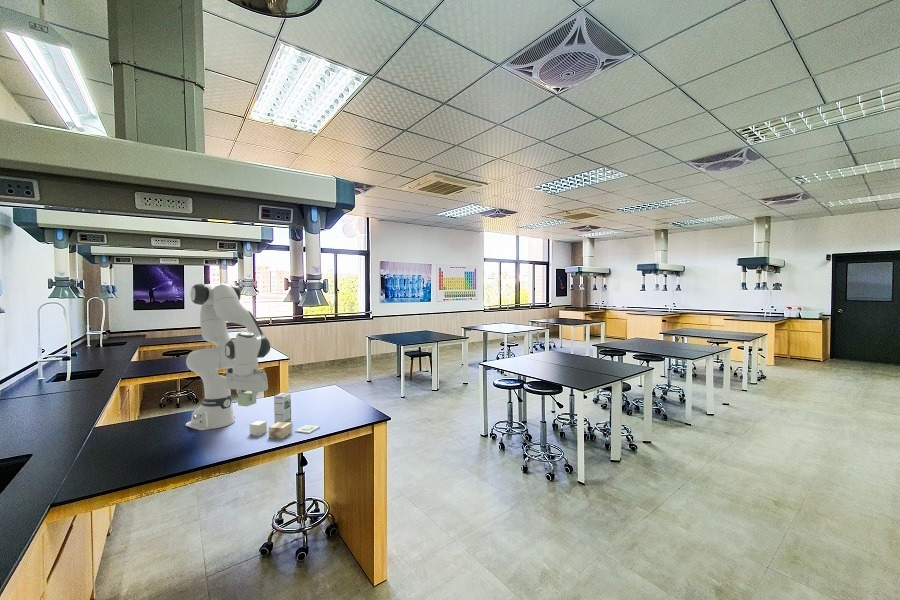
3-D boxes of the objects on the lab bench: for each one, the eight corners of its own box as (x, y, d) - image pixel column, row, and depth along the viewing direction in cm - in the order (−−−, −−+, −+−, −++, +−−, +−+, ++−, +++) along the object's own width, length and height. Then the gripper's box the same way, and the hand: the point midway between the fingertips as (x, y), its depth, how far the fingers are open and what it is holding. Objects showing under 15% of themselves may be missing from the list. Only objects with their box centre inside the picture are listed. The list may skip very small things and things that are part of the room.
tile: (295, 431, 173) (295, 430, 173) (306, 425, 180) (306, 424, 180) (309, 433, 170) (309, 431, 170) (319, 427, 178) (319, 425, 178)
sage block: (238, 405, 159) (237, 394, 158) (247, 402, 163) (247, 391, 163) (247, 406, 157) (247, 395, 157) (256, 403, 162) (256, 392, 162)
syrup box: (284, 424, 182) (283, 396, 182) (274, 423, 183) (273, 395, 183) (291, 420, 188) (291, 393, 187) (281, 420, 189) (281, 392, 189)
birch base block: (269, 437, 166) (268, 427, 166) (278, 432, 173) (278, 421, 173) (282, 438, 165) (282, 428, 165) (291, 432, 172) (291, 422, 172)
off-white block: (249, 434, 170) (249, 424, 170) (258, 430, 174) (258, 420, 174) (258, 435, 168) (258, 425, 168) (266, 431, 173) (266, 421, 173)
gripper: (271, 369, 160) (271, 399, 160) (235, 366, 166) (235, 396, 166) (260, 372, 154) (260, 404, 154) (222, 369, 160) (223, 400, 160)
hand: (247, 399), depth 160 cm, fingers closed on sage block, 5 cm apart
